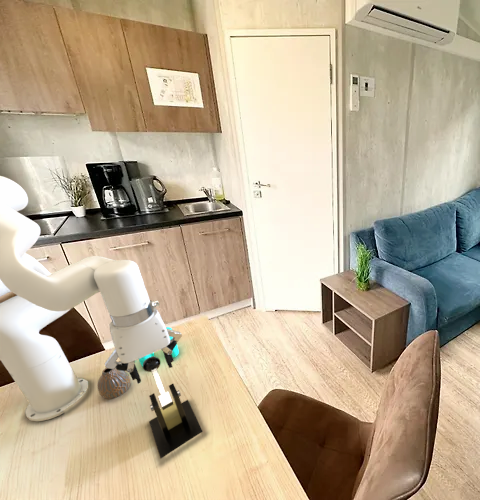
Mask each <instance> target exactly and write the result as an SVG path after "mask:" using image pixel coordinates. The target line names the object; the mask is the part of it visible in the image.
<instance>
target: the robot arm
mask: <svg viewBox="0 0 480 500" xmlns="http://www.w3.org/2000/svg"><path fill="white" fill-rule="evenodd" d="M28 204H29V197H28V194H27V192H26V190H25V189H24V188H23V187H22V186H21V185H20V184H19V183H17V182H15V181H14V180H12V179H10V178H8V177H6V176H2V175H0V297H2V296H5V295H7V294H9V293H13V294H14V295H15V296H12V297H10V298H8V299H6V300H4V301H1V302H0V361H1V363H2V365H3V366H4V367H5V369H6V370H7V371H8V373H9V375H10V376H11V378H12V380H13V381H14V382H15V384H16V385H17V387H18V389H19V390H20V391H21V393H22V394H23V396H24V398H25V399H26V401H27V402H28V405H27V407H26V408H25V410H24V411H25V412H24V413H25V416H26V418H27V419H28V420H29V421H31V422H43V421H48V420H52V419H54V418H56V417H59V416H61V415H63V414H65V410H67V408H70V407H71V406H72V405H75V403H77V402H78V401H79V400H80V399H81V398H82V397H83V396H84V395H85V394H86V392H87V390H88V389H89V381H88V380H87V379H85V378H82V377H81V378H78V376H77V375H76V373H75V371H74V369H73V368H72V366H71V364H70V362H69V360H68V358H67V356H66V355H65V353H64V351H63V349H62V347H61V345H60V344H59V342H58V341H57V340H56V338H54V337H52V336H50V335H47V334H40V331H41V330H43V328H45V327H47V325H50V324H51V323H53V322H55V321H56V320H57V319H59V318H61V317H62V316H64V315H65V314H67V313H68V312H69V311H71V310H72V309H74V308H76V307H77V306H78V305H80V304H82V303H84V302H86V301H87V300H88V299H90V298H92V297H93V296H94V295H96V294H99V293H100V295H101V298H102V300H103V303H104V305H105V308H106V310H107V313H108V314H109V317H110V319H111V321H110V323H109V333H110V337H111V340H112V343H113V346H114V350H113V351H112V353H110V355H109V357H108V358H107V360H106V361H105V362H104V367H105V368H110V369H117V370H122V371H126V372H127V373H128V374H129V376H130V377H131V378H130V379H131V380H132V381H136V382H137V384H141V382H142V379H141V376H140V373H139V371H138V368H137V365H136V364H135V363H136V361H137V360H139V359H140V358H142V357H144V356H147V355H149V354H151V353H153V352H154V353H155V352H158V351H160V350H161V351H162V353H163V356H164V359H165V362H166V364H167V366H168V368H169V369H170V368H173V364H172V363H173V362H174V361H175V360H174V358H173V357H172V350H173V349H174V347H175V346H176V345H177V346H178V342H179V341H180V340H181V338H182V337H183V335H182V333H181V332H180V331H178V330H173V329H172V330H170V329H166V324H165V322H164V320H163V318H162V316H161V314H160V312H159V310H158V309H157V307H158V306H160V302H159V300H158V299H156V300H151V299H150V296H149V294H148V291H147V287H146V285H145V282H144V278H143V276H142V273H141V269H140V267H139V265H138V263H137V262H135V261H134V260H130V259H118V260H117V259H112V258H109V257H105V256H101V255H90V256H87V257H85V258H82V259H80V260H78V261H75V262H73V263H72V264H69V265H66V266H65V267H62V268H61V269H58V270H57V271H55V272H52V273H51V272H50V271H49V270H48V269H47V268H46V267H45V266H44V265H43V264H42V263H41V262H39V260H37V259H36V258H35V257H34V256H32V255H30V254H28V253H27V252H29V250H30V249H31V248H32V247H33V246H34V245H35V244H36V242H37V241H38V240H39V238H40V236H41V227H40V225H39V224H38V223H37V222H35V221H34V220H32V219H30V218H29V217H27V216H26V215H23V214H22V213H20V212H19V211H22V210H24V209H25V208H26V207H27V206H28ZM169 336H170V337H173V338H172V339H171V340H170V337H169ZM118 359H119V361H117V360H118Z"/></svg>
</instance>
